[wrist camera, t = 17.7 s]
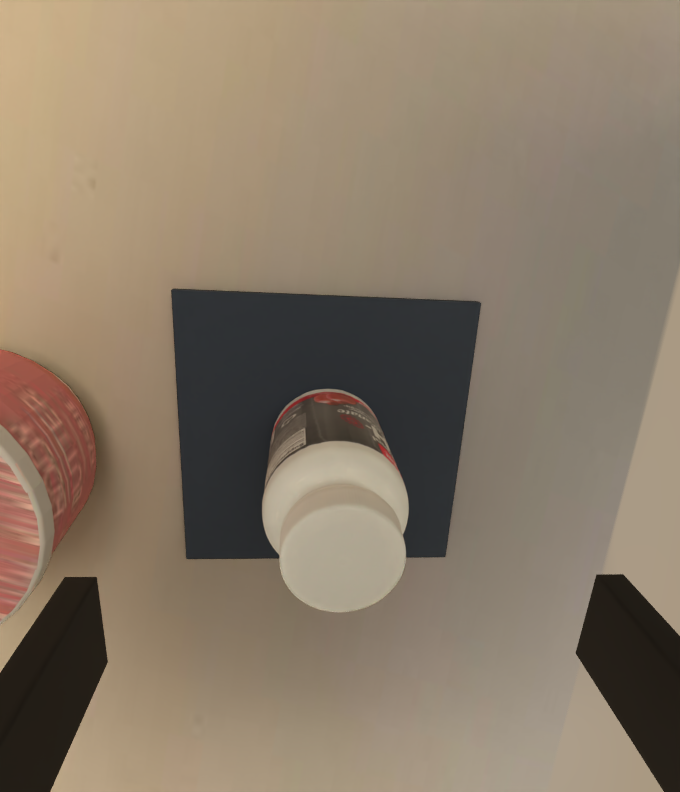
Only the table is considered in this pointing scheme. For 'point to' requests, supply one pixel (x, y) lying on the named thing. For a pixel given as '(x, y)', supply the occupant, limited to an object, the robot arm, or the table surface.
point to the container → (38, 472)
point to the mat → (306, 371)
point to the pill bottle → (334, 502)
